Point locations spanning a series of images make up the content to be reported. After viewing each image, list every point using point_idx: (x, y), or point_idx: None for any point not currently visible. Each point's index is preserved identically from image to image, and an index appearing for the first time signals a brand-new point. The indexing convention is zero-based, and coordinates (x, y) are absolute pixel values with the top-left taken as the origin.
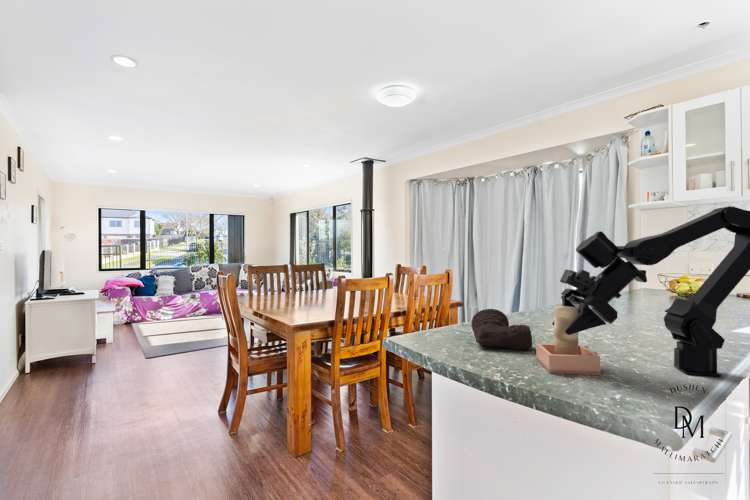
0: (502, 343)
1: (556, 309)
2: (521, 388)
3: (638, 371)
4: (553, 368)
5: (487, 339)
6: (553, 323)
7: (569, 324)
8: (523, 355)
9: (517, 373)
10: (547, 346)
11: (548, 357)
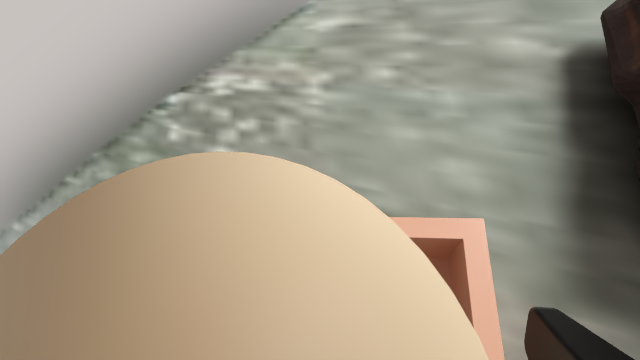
0: (627, 98)
1: (162, 179)
2: (137, 126)
3: None
4: None
5: (629, 26)
6: (534, 317)
7: None
8: (538, 203)
9: (259, 135)
10: (465, 285)
11: None
